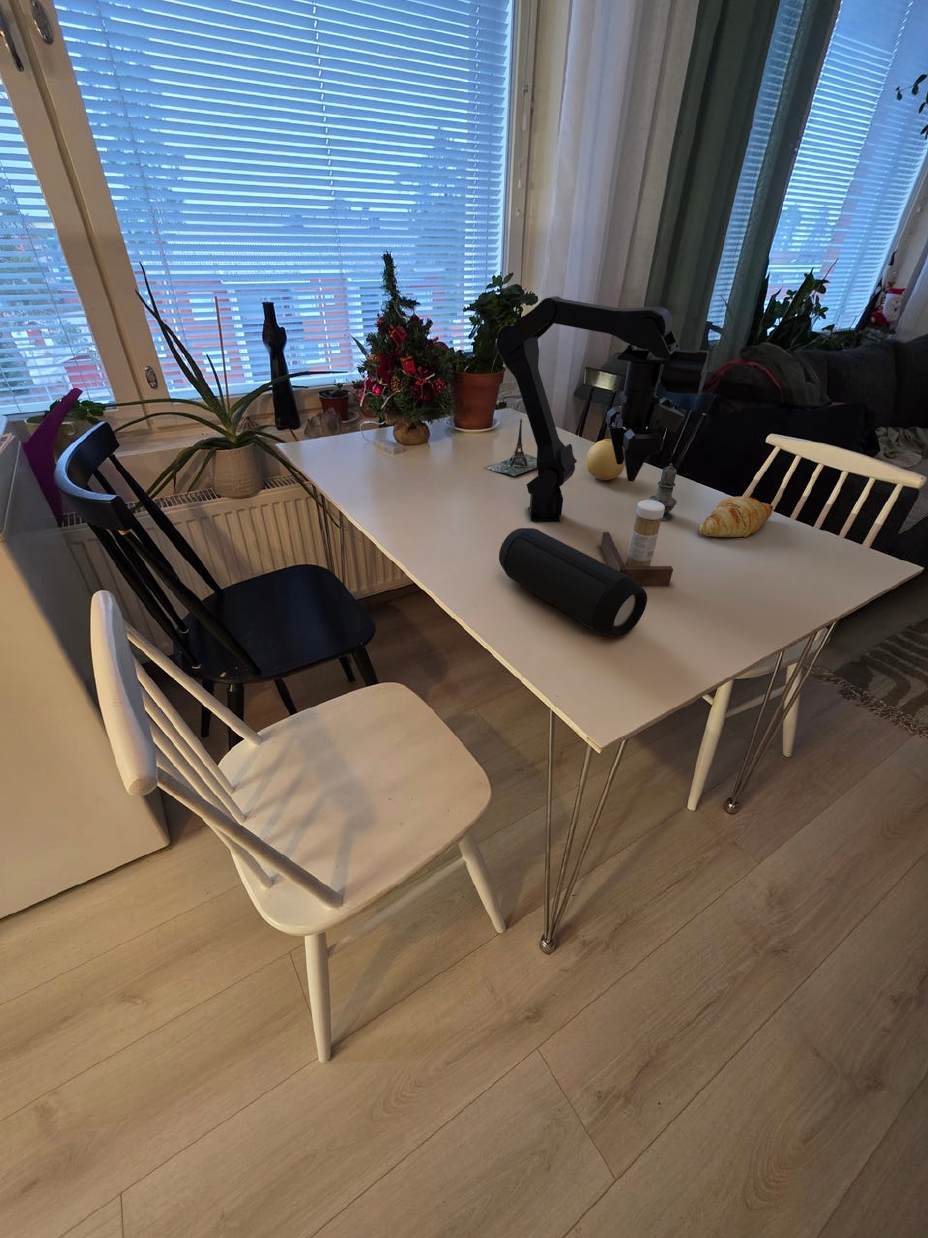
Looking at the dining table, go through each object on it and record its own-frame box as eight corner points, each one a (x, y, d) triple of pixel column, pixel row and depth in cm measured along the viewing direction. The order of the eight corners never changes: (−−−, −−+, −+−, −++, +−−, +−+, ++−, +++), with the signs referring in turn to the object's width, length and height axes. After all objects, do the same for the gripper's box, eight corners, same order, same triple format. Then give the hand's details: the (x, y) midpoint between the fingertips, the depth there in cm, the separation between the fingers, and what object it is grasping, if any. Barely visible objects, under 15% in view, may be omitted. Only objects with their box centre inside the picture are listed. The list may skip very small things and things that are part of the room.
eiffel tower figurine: (514, 478, 136) (517, 425, 128) (486, 468, 142) (487, 417, 134) (551, 464, 144) (556, 414, 136) (523, 455, 150) (526, 406, 142)
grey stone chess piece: (674, 522, 115) (688, 468, 108) (646, 519, 116) (658, 466, 109) (671, 510, 120) (684, 459, 113) (644, 508, 121) (655, 457, 114)
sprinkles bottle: (637, 563, 101) (653, 497, 93) (654, 574, 98) (671, 506, 90) (618, 568, 99) (632, 501, 92) (634, 579, 96) (650, 511, 88)
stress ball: (623, 487, 131) (631, 447, 125) (583, 484, 133) (589, 445, 127) (621, 472, 139) (628, 434, 133) (583, 470, 141) (588, 432, 135)
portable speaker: (643, 628, 84) (657, 575, 78) (603, 652, 80) (613, 598, 74) (533, 564, 101) (537, 516, 95) (493, 581, 96) (495, 532, 90)
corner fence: (616, 586, 95) (620, 569, 92) (600, 547, 106) (602, 531, 104) (668, 586, 94) (673, 569, 92) (646, 547, 106) (650, 531, 104)
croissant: (705, 558, 109) (730, 535, 102) (677, 521, 112) (700, 496, 106) (771, 533, 117) (799, 510, 110) (743, 499, 121) (768, 475, 114)
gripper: (703, 401, 87) (681, 490, 96) (669, 376, 102) (652, 456, 112) (636, 401, 87) (620, 491, 97) (611, 377, 102) (599, 456, 112)
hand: (625, 472), depth 104 cm, fingers open, 9 cm apart
